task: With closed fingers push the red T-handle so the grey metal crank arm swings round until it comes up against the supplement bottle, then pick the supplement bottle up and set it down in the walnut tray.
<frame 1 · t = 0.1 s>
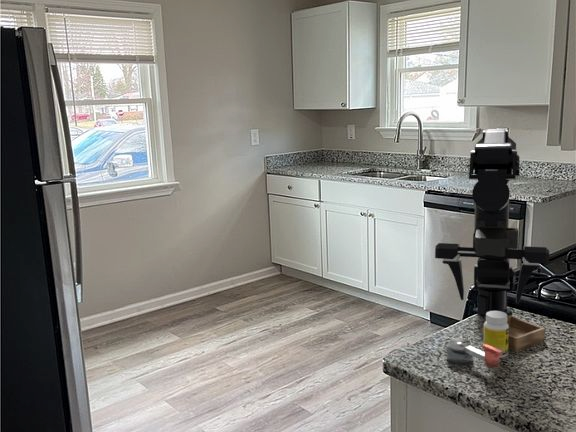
hand: (489, 301, 100), 15 cm above the counter, tool pointing down, fingers open, 9 cm apart
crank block: (459, 359, 112), on the counter
crank: (475, 348, 108), point 4 cm above the counter, hinge at 0.0°
tray: (513, 339, 119), on the counter
supplement bottle: (495, 354, 114), on the counter
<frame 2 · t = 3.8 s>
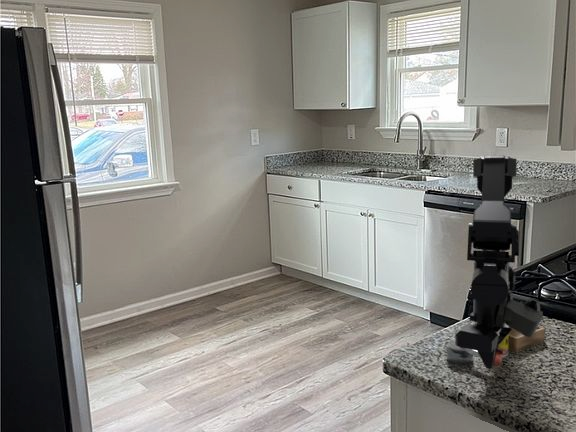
hand: (489, 367, 103), 2 cm above the counter, tool pointing down, fingers closed
crank: (476, 347, 108), point 4 cm above the counter, hinge at 5.6°, touching gripper
everything else where it was.
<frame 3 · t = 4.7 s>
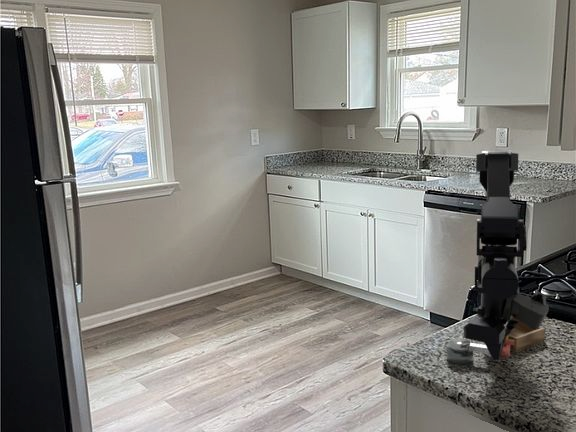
hand: (496, 359, 106), 2 cm above the counter, tool pointing down, fingers closed
crank: (481, 344, 110), point 4 cm above the counter, hinge at 34.4°, touching gripper
everything else where it was.
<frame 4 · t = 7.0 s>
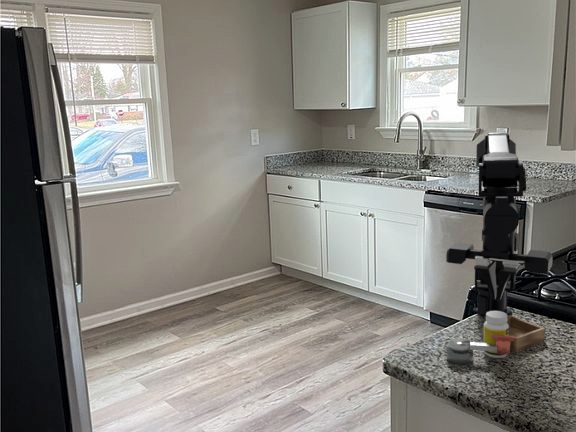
hand: (497, 298, 111), 12 cm above the counter, tool pointing down, fingers closed
crank: (481, 342, 110), point 4 cm above the counter, hinge at 45.2°
everything else where it was.
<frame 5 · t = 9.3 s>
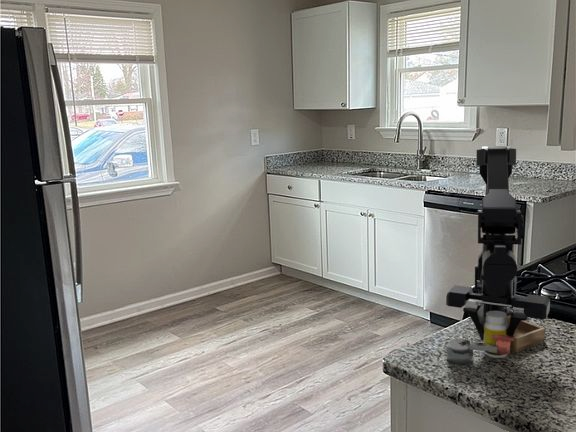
hand: (495, 341, 113), 3 cm above the counter, tool pointing down, fingers closed on supplement bottle, 5 cm apart
supplement bottle: (495, 354, 114), on the counter, touching gripper
everything else where it was.
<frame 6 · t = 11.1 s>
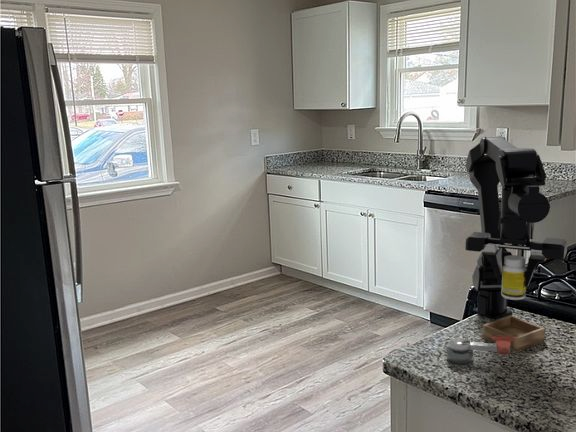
hand: (513, 284, 117), 12 cm above the counter, tool pointing down, fingers closed on supplement bottle, 5 cm apart
supplement bottle: (513, 297, 118), point 10 cm above the counter, touching gripper
everything else where it was.
when the fingers open (4 cm above the counter, at t = 12.9 s): supplement bottle stays where it is, resting on tray.
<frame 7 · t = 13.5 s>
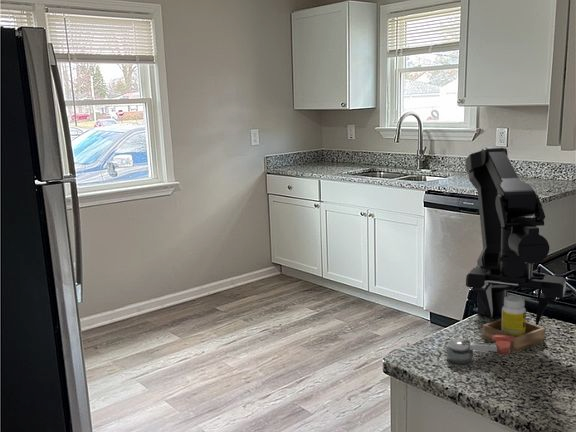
hand: (513, 320, 119), 4 cm above the counter, tool pointing down, fingers open, 9 cm apart
supplement bottle: (513, 337, 119), point 1 cm above the counter, touching tray
everything else where it was.
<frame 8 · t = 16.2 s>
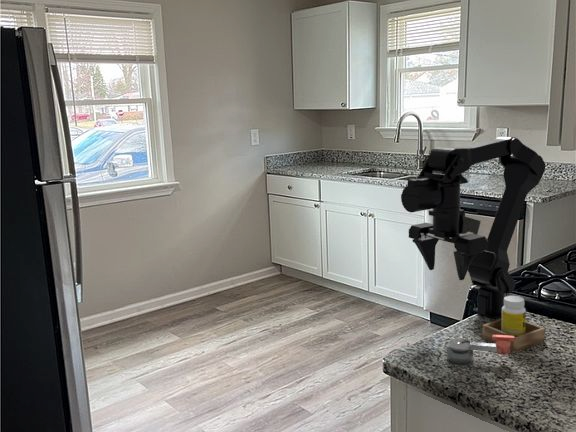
hand: (446, 274, 125), 12 cm above the counter, tool pointing down, fingers open, 9 cm apart
nothing on the counter moved.
at the end: supplement bottle 0.1 cm off-centre on the tray, point 0.6 cm above the tray's base; supplement bottle tilted 0°; crank at +45° (first picture: +0°) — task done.
